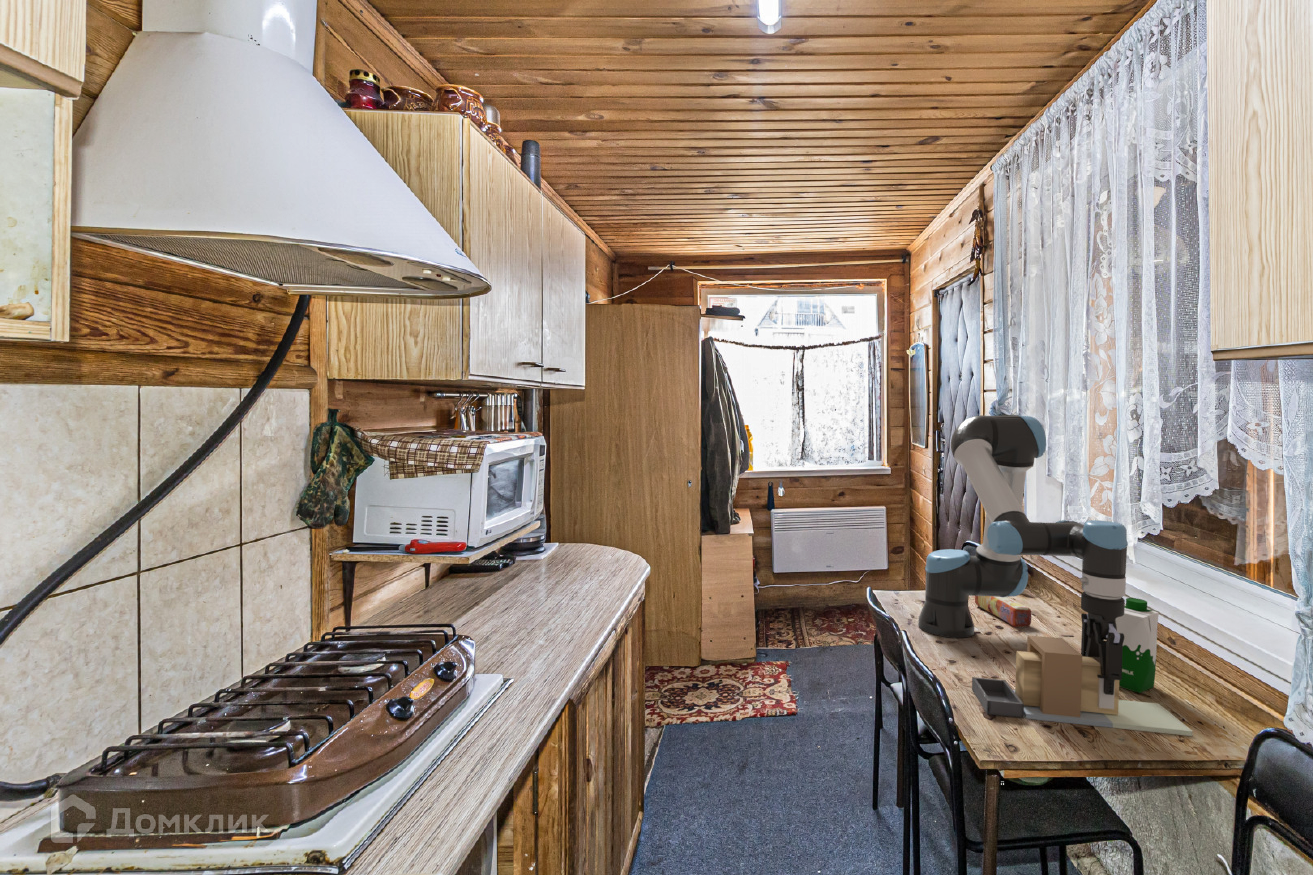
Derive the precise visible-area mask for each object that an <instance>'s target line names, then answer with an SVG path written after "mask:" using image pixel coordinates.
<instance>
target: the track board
mask: <svg viewBox="0 0 1313 875" xmlns="http://www.w3.org/2000/svg"><path fill="white" fill-rule="evenodd" d="M1026 640H1027V643H1026V644H1027V645H1026V647H1027V648H1026V652H1035V653H1040V654H1041V655H1042V670H1041V703H1040V707H1037V706H1027V705H1024V718H1025V719H1028V720H1034V721H1036V720H1038V721H1046V722H1056V723H1065V724H1073V725H1074V724H1075V725H1081V726H1082V725H1083V726H1094V727H1102V728H1112V729H1122V730H1123V729H1124V730H1131V731H1138V732H1139V731H1141V732H1148V733H1158V734H1161V733H1162V734H1170V735H1178V736H1179V735H1180V736H1188V737H1193V732H1194V730H1192V729H1191V728H1189V727H1188V726H1187V725H1186V724H1185V723H1183V722H1182V721H1181V720H1179V718H1177V717H1175V716H1174V714H1173V713H1171V712H1170V711H1169V710H1167V709H1166V708H1164V707H1163V706H1162V705H1161V704H1159V703H1158V702H1145V701H1137V700H1125V699H1119V706H1118V715H1116V714H1106V713H1096V712H1086V711H1081V684H1082V655H1081V652H1079V651H1078V650H1077V649H1076V648H1075V647H1073V646H1072V645H1071V644H1070V643H1068V642H1067V641H1066V640H1065V639H1064V638H1063V637H1053V636H1040V635H1039V636H1038V635H1028V634H1027V639H1026ZM1012 690H1013V691H1014V692H1015V689H1013V688H1012Z"/></svg>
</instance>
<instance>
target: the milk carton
mask: <svg viewBox="0 0 1313 875" xmlns="http://www.w3.org/2000/svg"><path fill="white" fill-rule="evenodd" d="M1115 620H1116V626H1117V632H1118V633H1123V634H1124V642H1123V651H1122V680H1119V688H1123V689H1126V690H1129V691H1132V692H1134V693H1138V694H1141V693H1144V692H1145V691H1147V690H1149V689H1152V688H1154V687H1155V681H1156V680H1155V679H1156V668H1157V649H1158V648H1157V644H1158V623H1159V611H1155V610H1153V609H1148V601H1147V600H1145V599H1141V598H1137V597H1127V598H1126V599H1125V609H1124V615H1123V616H1121V617H1117V618H1116V619H1115Z"/></svg>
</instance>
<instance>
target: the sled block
mask: <svg viewBox="0 0 1313 875" xmlns="http://www.w3.org/2000/svg"><path fill="white" fill-rule="evenodd" d="M1015 654H1016V655H1015V658H1016V659H1015V660H1016V661H1015V683H1014V684H1015V686H1014V688H1015V689H1014V690H1015V693H1016V695H1017V696H1018V697H1019V699H1020V700H1021V701H1022V702H1023V704H1024V705H1027V706H1037V707H1040V703H1041V670H1042V655H1041V654H1040V653H1035V652H1027V651H1024V650H1023V651H1022V650H1016V653H1015ZM1097 675H1101V668H1100V657H1083V656H1082V684H1081V711H1086V712H1096V713H1106V714H1116V715H1118V706H1119V700H1120V686H1119V680H1115V693H1114V709H1107V708H1099V707H1098V676H1097Z"/></svg>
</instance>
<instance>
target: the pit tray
mask: <svg viewBox="0 0 1313 875" xmlns="http://www.w3.org/2000/svg"><path fill="white" fill-rule="evenodd" d="M971 678H972V679H971V691H972V692H973V695H974V696H975V697H976V699H977V700H978V702H979V704H980V706H982V708H983V710H984V711H985V713H986V715H989V716H998V717H1006V718H1007V717H1009V718H1016V719H1017V718H1018V719H1024V718H1025V716H1024V704H1023V702H1022V701H1021V700H1020V699H1019V697H1018V696H1017V695H1016V693H1015V692H1014V691H1013V690H1014V689H1013V688H1012V686H1010V684H1009V683H1008V682H1007V680H1005V679H995V678H988V677H987V678H984V677H974V676H973V677H971ZM1012 689H1013V690H1012Z"/></svg>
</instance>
